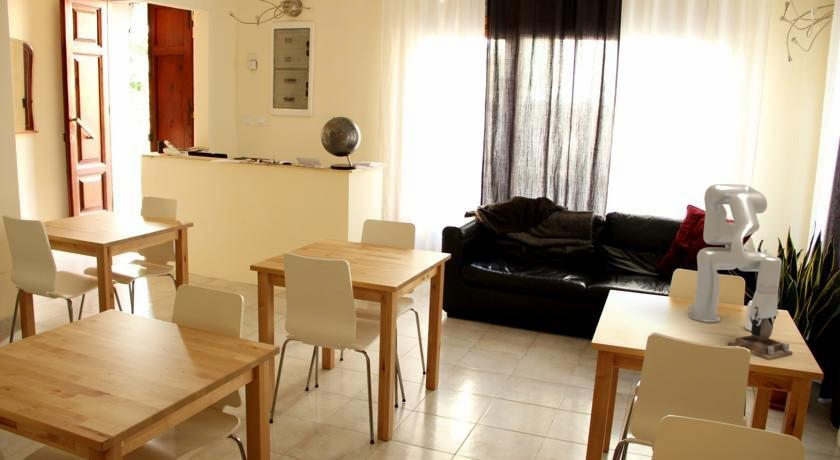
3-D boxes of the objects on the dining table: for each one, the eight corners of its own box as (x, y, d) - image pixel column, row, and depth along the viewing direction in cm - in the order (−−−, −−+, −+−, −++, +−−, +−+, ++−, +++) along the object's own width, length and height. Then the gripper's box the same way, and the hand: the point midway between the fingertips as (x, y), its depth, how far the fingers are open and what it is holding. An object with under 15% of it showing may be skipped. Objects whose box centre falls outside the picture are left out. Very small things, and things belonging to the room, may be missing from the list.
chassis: (727, 344, 284) (728, 334, 283) (750, 340, 291) (751, 330, 290) (768, 360, 269) (770, 349, 268) (792, 354, 276) (793, 344, 275)
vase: (773, 342, 275) (775, 319, 273) (753, 340, 276) (756, 317, 275) (768, 336, 282) (771, 314, 280) (749, 334, 283) (751, 312, 281)
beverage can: (757, 334, 299) (760, 306, 297) (740, 328, 306) (743, 300, 304) (770, 332, 303) (773, 304, 301) (753, 326, 310) (757, 299, 308)
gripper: (772, 284, 283) (767, 328, 286) (743, 288, 275) (738, 333, 278) (790, 288, 277) (784, 333, 280) (761, 293, 268) (755, 339, 271)
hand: (761, 333), depth 279 cm, fingers closed on vase, 6 cm apart
